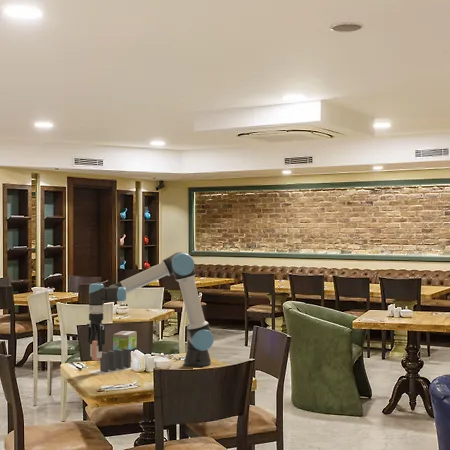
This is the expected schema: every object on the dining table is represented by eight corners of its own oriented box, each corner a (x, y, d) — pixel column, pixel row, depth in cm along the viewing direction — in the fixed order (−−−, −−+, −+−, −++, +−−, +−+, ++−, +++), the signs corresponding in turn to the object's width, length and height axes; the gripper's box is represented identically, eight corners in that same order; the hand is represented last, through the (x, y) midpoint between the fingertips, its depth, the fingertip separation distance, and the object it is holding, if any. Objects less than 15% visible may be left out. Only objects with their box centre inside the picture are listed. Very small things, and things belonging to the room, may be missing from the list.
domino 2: (108, 371, 371) (108, 352, 371) (105, 372, 370) (105, 353, 370) (102, 370, 374) (102, 351, 374) (100, 370, 373) (100, 352, 373)
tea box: (128, 360, 406) (128, 334, 406) (112, 359, 408) (112, 334, 408) (137, 355, 420) (137, 330, 420) (121, 354, 422) (121, 330, 422)
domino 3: (115, 370, 374) (115, 351, 374) (113, 370, 373) (113, 352, 373) (110, 368, 378) (110, 350, 378) (107, 369, 377) (107, 350, 377)
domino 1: (100, 360, 367) (100, 341, 367) (97, 361, 366) (97, 342, 366) (94, 359, 371) (94, 340, 371) (92, 359, 369) (92, 340, 369)
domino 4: (123, 368, 378) (123, 350, 378) (120, 369, 377) (120, 350, 377) (117, 367, 381) (117, 349, 381) (115, 368, 380) (115, 349, 380)
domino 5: (130, 367, 381) (130, 349, 381) (128, 367, 380) (128, 349, 380) (125, 366, 385) (125, 348, 385) (122, 366, 384) (122, 348, 384)
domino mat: (136, 369, 380) (136, 368, 380) (99, 375, 363) (99, 374, 363) (123, 365, 388) (123, 365, 388) (86, 372, 371) (86, 371, 371)
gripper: (80, 312, 372) (80, 355, 372) (100, 315, 359) (100, 360, 359) (92, 310, 377) (92, 353, 377) (112, 313, 365) (112, 358, 365)
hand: (96, 356), depth 368 cm, fingers closed on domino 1, 5 cm apart
